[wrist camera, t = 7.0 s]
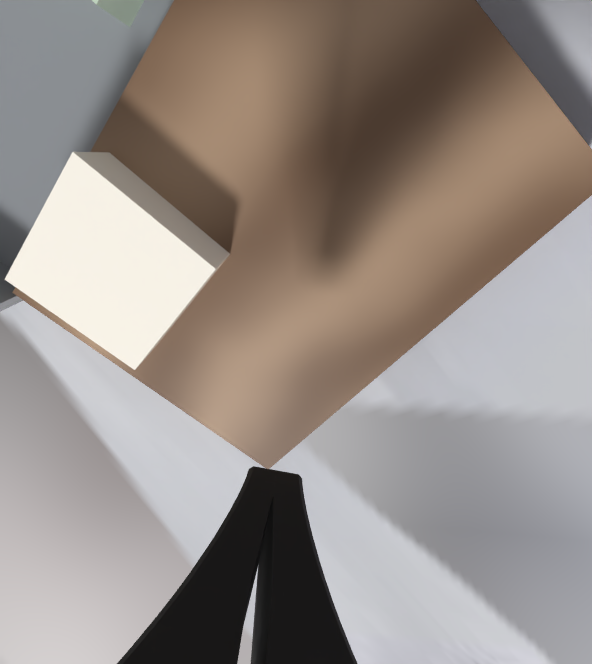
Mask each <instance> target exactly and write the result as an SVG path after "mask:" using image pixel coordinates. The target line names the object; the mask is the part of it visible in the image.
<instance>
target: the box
mask: <svg viewBox="0 0 592 664" xmlns="http://www.w3.org/2000/svg"><path fill="white" fill-rule="evenodd" d="M173 1H174V0H144V2H143V3H142V5H141V7H140V9H139V11H138V13H137V15H136V17H135V19H134V21H133V23H132V24H131V26H130V27H129V26H127V25H126V24H124V23H123V22H121V21H120V20H118V19H117V18H115V17H114V16H113V15H111V14H110V13H108V12H107V11H105V10H104V9H102V8H101V7H99V6H98V5H96V4H95V3H94V2H93V1H92V0H0V311H2V310H4V309H6V308H8V307H10V306H12V305H14V304H17V303H19V302H21V301H23V300H22V299H21V298H19V297H18V296H16V295H15V294H14V293H12V292H13V290H14V289H15V286H13V285H12V284H10V283H9V282H7V281H6V280H5V278H6V276H7V274H8V272H9V270H10V268H11V266H12V265H13V263H14V261H15V259H16V257H17V255H18V253H19V251H20V250H21V248H22V246H23V244H24V242H25V240H26V238H27V236H28V235H29V233H30V231H31V229H32V227H33V225H34V223H35V221H36V220H37V218H38V216H39V214H40V212H41V210H42V208H43V206H44V204H45V203H46V201H47V199H48V197H49V195H50V193H51V191H52V189H53V188H54V186H55V184H56V182H57V180H58V178H59V176H60V174H61V173H62V171H63V169H64V167H65V165H66V163H67V161H68V159H69V158H70V156H71V154H72V152H90V151H91V149H92V148H93V146H94V144H95V142H96V140H97V139H98V137H99V135H100V133H101V131H102V129H103V128H104V126H105V124H106V122H107V120H108V119H109V117H110V115H111V113H112V111H113V110H114V108H115V106H116V104H117V102H118V101H119V99H120V97H121V95H122V93H123V92H124V90H125V88H126V86H127V84H128V82H129V81H130V79H131V77H132V75H133V73H134V72H135V70H136V68H137V66H138V64H139V63H140V61H141V59H142V57H143V55H144V54H145V52H146V50H147V48H148V46H149V45H150V43H151V41H152V39H153V37H154V35H155V34H156V32H157V30H158V28H159V26H160V25H161V23H162V21H163V19H164V17H165V16H166V14H167V12H168V10H169V8H170V7H171V5H172V3H173Z"/></svg>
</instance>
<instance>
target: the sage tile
mask: <svg viewBox="0 0 592 664" xmlns="http://www.w3.org/2000/svg"><path fill="white" fill-rule="evenodd" d="M92 1H93V2H94V3H95V4H96V5H98V6H99V7H101V8H102V9H104V10H105V11H107V12H108V13H110V14H111V15H113V16H114V17H115V18H117V19H118V20H120V21H121V22H123V23H124V24H126V25H127V26H129V27H130V26H131V24H132V23H133V21H134V19H135V17H136V15H137V13H138V11H139V9H140V7H141V5H142V3H143V2H144V0H92Z"/></svg>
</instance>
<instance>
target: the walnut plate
mask: <svg viewBox="0 0 592 664" xmlns="http://www.w3.org/2000/svg"><path fill="white" fill-rule="evenodd" d="M90 152H109V153H111V154H112V155H113V156H114V157H115V158H117V159H118V160H119V161H120V162H121V163H122V164H124V165H125V166H126V167H127V168H128V169H130V170H131V171H132V172H133V173H134V174H136V175H137V176H138V177H139V178H140V179H142V180H143V181H144V182H145V183H146V184H147V185H149V186H150V187H151V188H152V189H153V190H155V191H156V192H157V193H158V194H159V195H161V196H162V197H163V198H164V199H165V200H167V201H168V202H169V203H170V204H171V205H172V206H174V207H175V208H176V209H177V210H178V211H180V212H181V213H182V214H183V215H184V216H186V217H187V218H188V219H189V220H190V221H192V222H193V223H194V224H195V225H196V226H197V227H199V228H200V229H201V230H202V231H203V232H205V233H206V234H207V235H208V236H209V237H211V238H212V239H213V240H214V241H215V242H217V243H218V244H219V245H220V246H221V247H222V248H224V249H225V250H226V251H227V252H228V253H230V255H229V256H228V257H227V259H226V260H225V261H224V262H223V264H222V265H221V266H220V267H219V269H218V270H217V271H216V272H215V274H214V275H213V276H212V277H211V279H210V280H209V281H208V282H207V283H206V285H205V286H204V287H203V288H202V290H201V291H200V292H199V293H198V295H197V296H196V297H195V298H194V300H193V301H192V302H191V303H190V305H189V306H188V307H187V308H186V310H185V311H184V312H183V313H182V315H181V316H180V317H179V318H178V320H177V321H176V322H175V323H174V324H173V326H172V327H171V328H170V329H169V331H168V332H167V333H166V334H165V336H164V337H163V338H162V339H161V341H160V342H159V343H158V344H157V346H156V347H155V348H154V349H153V350H152V351H151V352H150V353H149V355H148V356H147V357H146V358H145V359H144V360H143V361H142V363H141V364H140V365H139V366H138V367H137V368H136V369H135V370H134V369H132V368H131V367H129V366H128V365H127V364H125V363H124V362H122V361H121V360H119V359H118V358H116V357H115V356H114V355H112V354H111V353H109V352H108V351H106V350H105V349H104V348H102V347H101V346H99V345H98V344H96V343H95V342H94V341H92V340H91V339H89V338H88V337H86V336H85V335H83V334H82V333H81V332H79V331H78V330H76V329H75V328H73V327H72V326H71V325H69V324H68V323H66V322H65V321H63V320H62V319H61V318H59V317H58V316H56V315H55V314H53V313H52V312H50V311H49V310H48V309H46V308H45V307H43V306H42V305H40V304H39V303H38V302H36V301H35V300H33V299H32V298H30V297H29V296H28V295H26V294H25V293H23V292H22V291H20V290H19V289H18V288H16V287H15V289H14V290H13V292H12V293H14V294H15V295H16V296H18V297H19V298H21V299H22V300H24V301H25V302H27V303H28V304H29V305H31V306H32V307H34V308H35V309H37V310H38V311H40V312H41V313H42V314H44V315H45V316H47V317H48V318H50V319H51V320H53V321H54V322H55V323H57V324H58V325H60V326H61V327H63V328H64V329H66V330H67V331H68V332H70V333H71V334H73V335H74V336H76V337H77V338H79V339H80V340H81V341H83V342H84V343H86V344H87V345H89V346H90V347H92V348H93V349H94V350H96V351H97V352H99V353H100V354H102V355H103V356H105V357H106V358H107V359H109V360H110V361H112V362H113V363H115V364H116V365H118V366H119V367H120V368H122V369H123V370H125V371H126V372H128V373H129V374H131V375H132V376H133V377H135V378H136V379H138V380H139V381H141V382H142V383H144V384H145V385H146V386H148V387H149V388H151V389H152V390H154V391H155V392H157V393H158V394H159V395H161V396H162V397H164V398H165V399H167V400H168V401H170V402H171V403H172V404H174V405H175V406H177V407H178V408H180V409H181V410H183V411H184V412H185V413H187V414H188V415H190V416H191V417H193V418H194V419H196V420H197V421H198V422H200V423H201V424H203V425H204V426H206V427H207V428H209V429H210V430H211V431H213V432H214V433H216V434H217V435H219V436H220V437H222V438H223V439H224V440H226V441H227V442H229V443H230V444H232V445H233V446H235V447H236V448H237V449H239V450H240V451H242V452H243V453H245V454H246V455H248V456H249V457H250V458H252V459H253V460H255V461H256V462H258V463H259V464H261V465H262V466H263V467H265V468H266V469H269V468H270V467H272V466H273V465H274V464H275V463H276V462H278V461H279V460H280V459H281V458H282V457H283V456H285V455H286V454H287V453H288V452H289V451H291V450H292V449H293V448H294V447H295V446H296V445H298V444H299V443H300V442H301V441H302V440H303V439H305V438H306V437H307V436H308V435H309V434H311V433H312V432H313V431H314V430H315V429H316V428H318V427H319V426H320V425H321V424H322V423H324V422H325V421H326V420H327V419H328V418H329V417H330V416H332V415H333V414H334V413H335V412H336V411H338V410H339V409H340V408H341V407H342V406H344V405H345V404H346V403H347V402H348V401H349V400H351V399H352V398H353V397H354V396H355V395H357V394H358V393H359V392H360V391H361V390H362V389H364V388H365V387H366V386H367V385H368V384H369V383H371V382H372V381H373V380H374V379H375V378H377V377H378V376H379V375H380V374H381V373H382V372H384V371H385V370H386V369H387V368H388V367H390V366H391V365H392V364H393V363H394V362H395V361H397V360H398V359H399V358H400V357H401V356H402V355H404V354H405V353H406V352H407V351H408V350H410V349H411V348H412V347H413V346H414V345H415V344H417V343H418V342H419V341H420V340H421V339H423V338H424V337H425V336H426V335H427V334H428V333H430V332H431V331H432V330H433V329H434V328H435V327H437V326H438V325H439V324H440V323H441V322H443V321H444V320H445V319H446V318H447V317H448V316H450V315H451V314H452V313H453V312H454V311H456V310H457V309H458V308H459V307H460V306H461V305H463V304H464V303H465V302H466V301H467V300H468V299H470V298H471V297H472V296H473V295H474V294H476V293H477V292H478V291H479V290H480V289H481V288H483V287H484V286H485V285H486V284H487V283H489V282H490V281H491V280H492V279H493V278H494V277H496V276H497V275H498V274H499V273H500V272H501V271H503V270H504V269H505V268H506V267H507V266H509V265H510V264H511V263H512V262H513V261H514V260H516V259H517V258H518V257H519V256H520V255H522V254H523V253H524V252H525V251H526V250H527V249H529V248H530V247H531V246H532V245H533V244H534V243H536V242H537V241H538V240H539V239H540V238H542V237H543V236H544V235H545V234H546V233H547V232H549V231H550V230H551V229H552V228H553V227H555V226H556V225H557V224H558V223H559V222H560V221H562V220H563V219H564V218H565V217H566V216H567V215H569V214H570V213H571V212H572V211H573V210H575V209H576V208H577V207H578V206H579V205H580V204H582V203H583V202H584V201H585V200H586V199H588V198H589V197H590V196H591V195H592V149H591V148H590V147H589V145H588V144H587V143H586V142H585V140H584V139H583V138H582V136H581V135H580V134H579V133H578V131H577V130H576V129H575V127H574V126H573V125H572V124H571V122H570V121H569V120H568V118H567V117H566V116H565V115H564V113H563V112H562V111H561V109H560V108H559V107H558V106H557V104H556V103H555V102H554V100H553V99H552V98H551V97H550V95H549V94H548V93H547V91H546V90H545V89H544V88H543V86H542V85H541V84H540V82H539V81H538V80H537V79H536V77H535V76H534V75H533V73H532V72H531V71H530V70H529V68H528V67H527V66H526V65H525V63H524V62H523V61H522V59H521V58H520V57H519V56H518V54H517V53H516V52H515V50H514V49H513V48H512V47H511V45H510V44H509V43H508V41H507V40H506V39H505V38H504V36H503V35H502V34H501V32H500V31H499V30H498V29H497V27H496V26H495V25H494V23H493V22H492V21H491V20H490V18H489V17H488V16H487V14H486V13H485V12H484V11H483V9H482V8H481V7H480V5H479V4H478V3H477V2H476V0H174V1H173V3H172V5H171V7H170V8H169V10H168V12H167V14H166V16H165V17H164V19H163V21H162V23H161V25H160V26H159V28H158V30H157V32H156V34H155V35H154V37H153V39H152V41H151V43H150V45H149V46H148V48H147V50H146V52H145V54H144V55H143V57H142V59H141V61H140V63H139V64H138V66H137V68H136V70H135V72H134V73H133V75H132V77H131V79H130V81H129V82H128V84H127V86H126V88H125V90H124V92H123V93H122V95H121V97H120V99H119V101H118V102H117V104H116V106H115V108H114V110H113V111H112V113H111V115H110V117H109V119H108V120H107V122H106V124H105V126H104V128H103V129H102V131H101V133H100V135H99V137H98V139H97V140H96V142H95V144H94V146H93V148H92V149H91V151H90Z"/></svg>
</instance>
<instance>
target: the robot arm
mask: <svg viewBox="0 0 592 664" xmlns="http://www.w3.org/2000/svg"><path fill="white" fill-rule="evenodd" d="M258 563H259V564H258ZM257 568H258V576H257V589H256V602H255V615H254V628H253V641H252V655H251V664H357V661H356V659H355V657H354V655H353V652H352V650H351V647H350V645H349V642H348V640H347V637H346V635H345V632H344V630H343V627H342V625H341V622H340V620H339V617H338V614H337V612H336V609H335V606H334V603H333V601H332V598H331V595H330V592H329V589H328V586H327V583H326V580H325V577H324V574H323V571H322V567H321V564H320V561H319V557H318V554H317V550H316V547H315V543H314V540H313V536H312V532H311V528H310V524H309V519H308V515H307V510H306V505H305V500H304V494H303V486H302V478H301V477H300V476H299V475H298V474H293V473H287V472H282V471H276V470H271V469H265V468H260V467H252V468H250V469H249V471H248V474H247V477H246V479H245V482H244V484H243V486H242V488H241V491H240V493H239V495H238V497H237V499H236V500H235V502H234V504H233V506H232V508H231V510H230V512H229V513H228V515H227V517H226V518H225V520H224V522H223V523H222V525H221V527H220V528H219V530H218V532H217V533H216V535H215V537H214V538H213V540H212V541H211V543H210V544H209V546H208V547H207V549H206V550H205V552H204V553H203V555H202V556H201V557H200V559H199V560H198V562H197V563H196V565H195V566H194V568H193V569H192V571H191V573H190V574H189V575H188V576H187V578H186V579H185V580H184V582H183V583H182V585H181V586H180V587H179V589H178V590H177V591H176V593H175V594H174V595H173V596H172V598H171V599H170V601H169V602H168V603H167V604H166V606H165V607H164V608H163V609H162V611H161V612H160V613H159V614H158V616H157V617H156V618H155V619H154V621H153V622H152V623H151V624H150V625H149V627H148V628H147V629H146V630H145V631H144V633H143V634H142V635H141V636H140V637H139V639H138V640H137V641H136V642H135V643H134V645H133V646H132V647H131V648H130V649H129V650H128V652H127V653H126V654H125V655H124V656H123V657H122V659H121V660H120V661H119V662H118V663H117V664H237V661H238V655H239V649H240V642H241V636H242V630H243V625H244V621H245V617H246V612H247V608H248V604H249V600H250V596H251V592H252V588H253V584H254V580H255V576H256V572H257Z"/></svg>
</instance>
